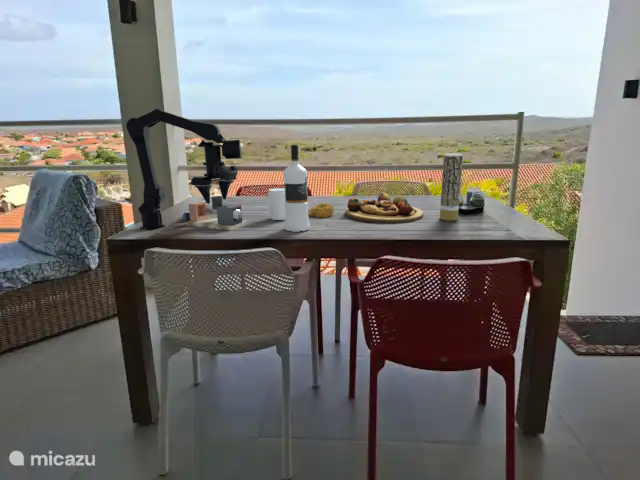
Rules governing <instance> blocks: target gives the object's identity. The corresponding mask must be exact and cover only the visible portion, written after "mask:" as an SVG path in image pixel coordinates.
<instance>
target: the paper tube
mask: <svg viewBox="0 0 640 480" xmlns="http://www.w3.org/2000/svg"><path fill="white" fill-rule="evenodd" d="M443 154H444V155H443V162H442V163H443V164H442V175H441V176H442V179H441V194H440V206H439V208H440V209H439V210H440V211H439V219H440V220H442V221H446V222H447V221H449V222H453V221H457V220H458V219H459V209H460V197H461V195H460V194H461V186H462V185H461V184H462V171H463V158H464V154H463V153H443Z"/></svg>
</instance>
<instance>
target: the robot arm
mask: <svg viewBox="0 0 640 480" xmlns="http://www.w3.org/2000/svg"><path fill="white" fill-rule="evenodd" d="M160 122H162V123H164V124H168V125H172V127H173V126H174V127H177V128H180V129H183V130H185V131H190V132H192V133H194V134H196V135H197V136H199V137H201V138H202V140H201V142H200V143H199V144H198V145H197V146H198V147H199V148H203V149H204V161H205V162H202V165H203V166H205V173H203V175H197V176H193V177H192V178H191V185H192V186H194V187H195V188H197V190H198V191H199V192H200V194H201V195H202V199H203V198H204V199H205V201H206V203H207V204H209V203H210V198H211V191H210V190H211V188H212V187H213V185H212V183H213V182H218V183H217V184H218V186H219V190H220V194H221V196H222V200H226V199H227V195H228V193H229V189H230V186H231V185H232V184H233V183H234V182H235V181H236V180H237V176H238V175H239V174H238V168H237V166H236V165H230V167H228V166H226V165H225V162H224V161H222V157H224V158H225V160H239V159H240V160H241V159H242V157H243V156H242V155H243V154H242V153H243V152H242V147H241V141H240V139H235V140H226V139H225V137H223V135H222V134H221V129H220V128H219V126H218V125H216V124H214V123H210V122H209V123H208V122H202V121H195V120H192V119H189V118H187V117H183V116H180V115H176V114H174V113H171V112H168V111H165V110H164V109H160V108H155V109H153V110H152V111H150V112H148V113H146V114H143V115H141V116H139V117H132V118H129V119H128V120H127V122H126V124H125V127H126V130H127V133H128V134H129V135H128V136H129V137H130V139H131V140H132V142H133V143H134V145H135V149H136V154H137V158H138V162H139V166H140V170H141V171H140V172H141V176H142V179H143V186H144V187H143V194H142V195H143V196H142V197H143V203H141V205H140V206H139V207H138V208H137V209H138V210H137V211H138V212H139V214H140V217H141V222H142V223H141V224H142V225H141V226H139V229H142V228H145V229H144V230H149V229H153V230H156V228H157V229H159V228H163V227H165V226H166V224H163V218H162V213H161V210H160V209H161V205H163V204H164V202H165V201H166V197H167V194H166V193H165V187H164V185H162V186H160V184H159V183H158V181H157V176H156V172H155V171H156V170H155V168H154V163H153V159H152V158H153V157H152V154H151V153H152V152H151V150H150V148H151V147H150V145H149V141H150V128H152V127H155V126H156V125H157V124H159V123H160ZM205 140H207V141H205ZM215 143H216V144H215Z"/></svg>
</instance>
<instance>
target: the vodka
mask: <svg viewBox="0 0 640 480" xmlns="http://www.w3.org/2000/svg"><path fill="white" fill-rule="evenodd" d="M290 157H291V160H290V161H291V164H290V165H289V166H287V167H286V168H285V169H284V170H283V183H284V188H285V220H284V223H283V224H284V225H283V226H284V229H285V231H287V232H289V231H291V232H290V233H301V232H300V231H303V232H306V230H307V231H308V230H310V227H311V225H310V224H311V223H310V217H309V215H308V212H309V208H308V206H309V202H308V200H309V199H308V198H309V196H308V170H307V169H306V168H305V167H304V166H303V165H301V164H300V160H299V145H298V144H291V145H290Z"/></svg>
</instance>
